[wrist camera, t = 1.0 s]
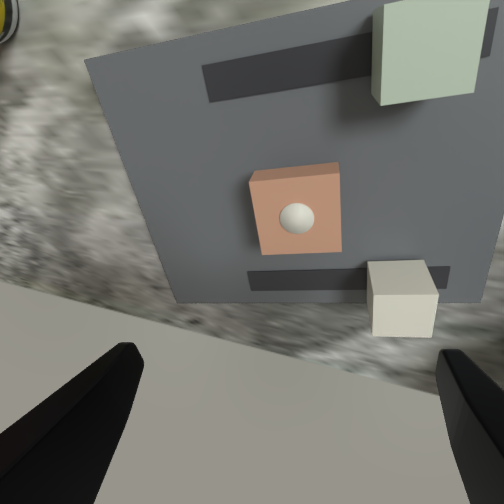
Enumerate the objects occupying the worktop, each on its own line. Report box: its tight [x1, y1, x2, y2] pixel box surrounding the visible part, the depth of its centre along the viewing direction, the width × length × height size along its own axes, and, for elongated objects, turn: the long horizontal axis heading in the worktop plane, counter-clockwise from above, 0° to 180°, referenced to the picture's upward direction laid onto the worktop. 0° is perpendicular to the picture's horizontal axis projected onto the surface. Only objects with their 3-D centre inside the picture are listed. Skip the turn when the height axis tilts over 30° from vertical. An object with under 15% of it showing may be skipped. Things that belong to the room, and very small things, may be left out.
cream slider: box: [367, 260, 439, 338], centre depth 18 cm, size 3×3×3 cm
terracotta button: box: [249, 162, 342, 255], centre depth 16 cm, size 4×4×2 cm
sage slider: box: [371, 0, 490, 106], centre depth 12 cm, size 3×3×3 cm
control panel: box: [84, 0, 504, 303], centre depth 19 cm, size 20×16×2 cm
